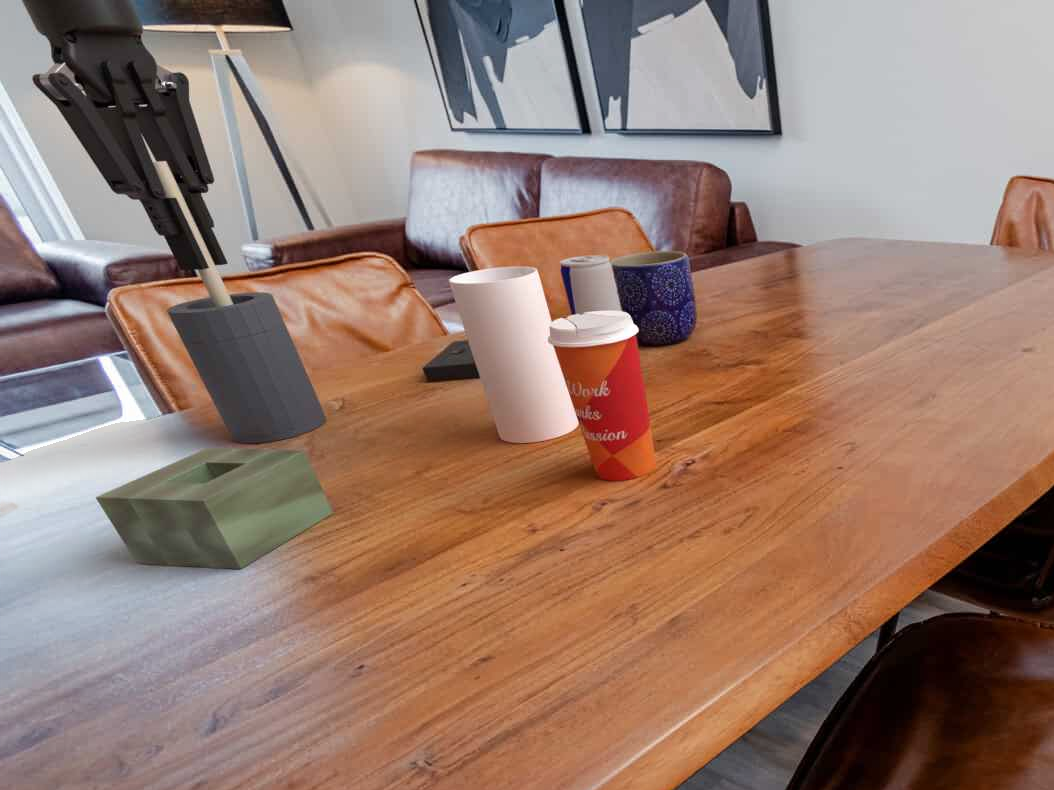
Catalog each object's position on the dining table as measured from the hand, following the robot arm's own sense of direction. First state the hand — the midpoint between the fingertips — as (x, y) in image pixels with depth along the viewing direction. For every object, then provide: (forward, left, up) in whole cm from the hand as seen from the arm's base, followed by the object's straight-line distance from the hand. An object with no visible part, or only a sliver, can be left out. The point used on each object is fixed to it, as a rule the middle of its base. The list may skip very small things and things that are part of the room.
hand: (204, 266), depth 85 cm
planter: (+31, +37, -18) cm, 51 cm away
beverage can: (+34, +15, -18) cm, 41 cm away
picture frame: (+13, +26, -18) cm, 34 cm away
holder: (+19, -25, -18) cm, 36 cm away
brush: (0, 0, -13) cm, 13 cm away
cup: (+32, +1, -18) cm, 37 cm away
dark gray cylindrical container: (0, 0, -18) cm, 18 cm away
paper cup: (+47, -9, -18) cm, 51 cm away
